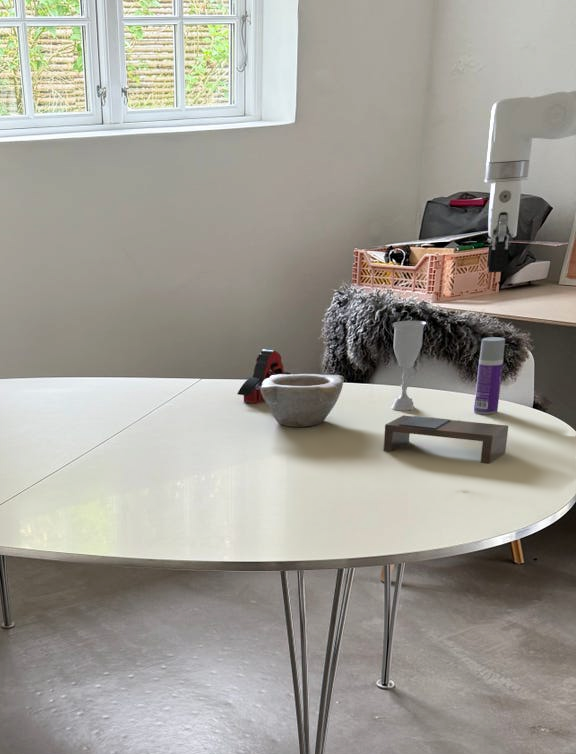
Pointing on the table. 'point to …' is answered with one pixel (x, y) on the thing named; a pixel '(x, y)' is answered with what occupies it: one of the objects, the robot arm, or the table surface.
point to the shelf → (448, 433)
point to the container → (489, 375)
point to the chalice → (406, 355)
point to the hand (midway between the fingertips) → (496, 269)
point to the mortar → (301, 397)
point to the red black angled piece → (261, 375)
